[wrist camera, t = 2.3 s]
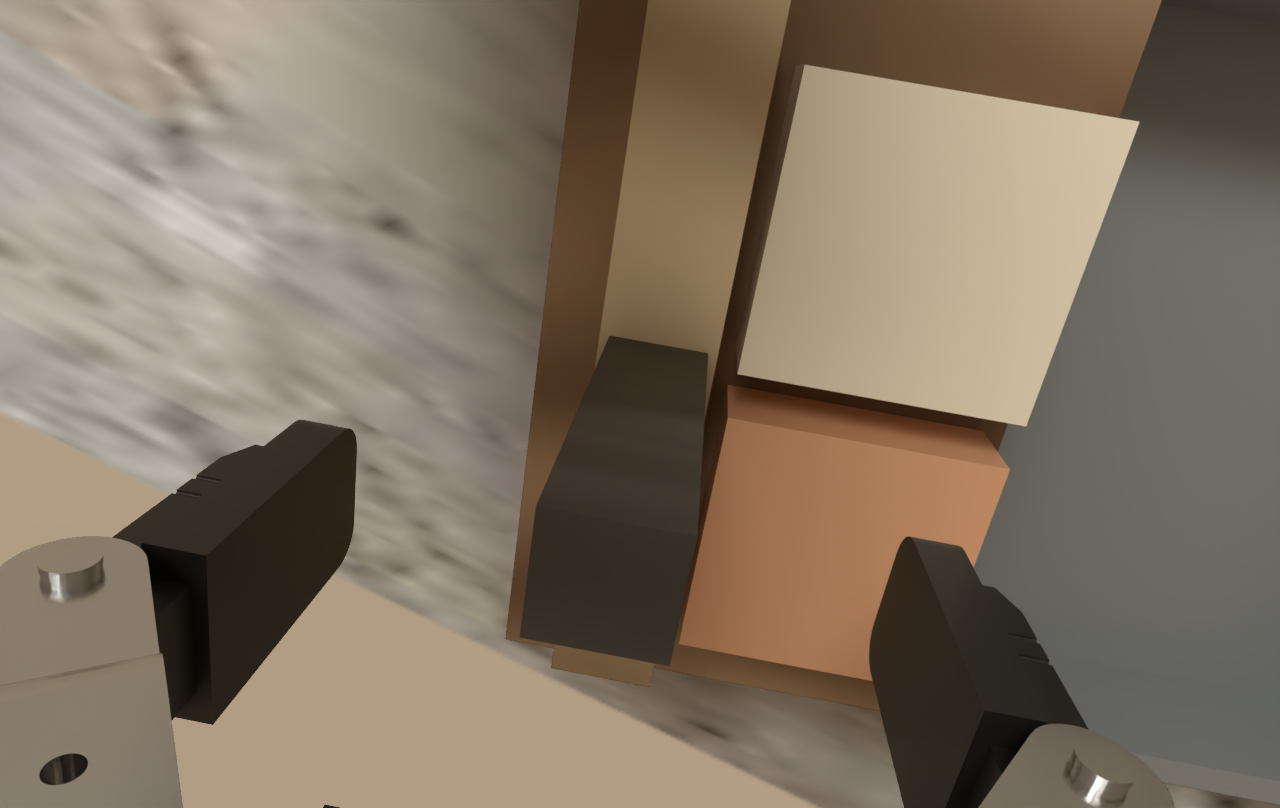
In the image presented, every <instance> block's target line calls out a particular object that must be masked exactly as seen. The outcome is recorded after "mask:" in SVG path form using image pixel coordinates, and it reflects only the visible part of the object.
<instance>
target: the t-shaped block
mask: <svg viewBox="0 0 1280 808" xmlns="http://www.w3.org/2000/svg"><path fill="white" fill-rule="evenodd" d="M790 3H791V0H648V5H647V12H646V19H645V26H644V33H643V40H642V47H641V53H640V60H639V67H638V74H637V81H636V88H635V95H634V102H633V109H632V115H631V122H630V129H629V136H628V143H627V150H626V157H625V164H624V170H623V177H622V184H621V191H620V198H619V205H618V212H617V219H616V226H615V232H614V239H613V246H612V253H611V260H610V267H609V274H608V281H607V287H606V294H605V301H604V308H603V315H602V322H601V329H600V336H599V343H598V349H597V356H596V363H595V370H594V373H593V375H592V377H591V380H590V382H589V384H588V387H587V389H586V391H585V394H584V396H583V398H582V400H581V403H580V405H579V407H578V410H577V412H576V414H575V417H574V419H573V421H572V424H571V426H570V428H569V431H568V433H567V435H566V437H565V440H564V442H563V444H562V447H561V449H560V451H559V454H558V456H557V458H556V461H555V463H554V465H553V468H552V470H551V472H550V475H549V477H548V479H547V481H546V484H545V486H544V488H543V491H542V493H541V495H540V498H539V500H538V502H537V505H536V509H535V517H534V525H533V533H532V541H531V549H530V557H529V565H528V574H527V582H526V590H525V598H524V606H523V614H522V622H521V630H520V638H524V639H529V640H534V641H540V642H545V643H550V644H555V645H554V652H553V659H552V666H551V668H553V669H559V670H564V671H569V672H574V673H579V674H585V675H590V676H595V677H600V678H605V679H611V680H616V681H621V682H626V683H631V684H637V685H642V686H647V687H650V683H651V678H652V674H653V669H654V664H660V665H665V666H670V663H671V658H672V654H673V649H674V644H675V640H676V635H677V630H678V626H679V621H680V616H681V612H682V607H683V602H684V598H685V593H686V589H687V584H688V579H689V575H690V570H691V565H692V561H693V556H694V551H695V547H696V542H697V537H698V523H699V505H700V488H701V470H702V453H703V435H704V421H705V416H706V411H707V406H708V401H709V397H710V392H711V387H712V382H713V377H714V372H715V367H716V363H717V358H718V353H719V348H720V343H721V338H722V333H723V329H724V324H725V319H726V314H727V309H728V304H729V299H730V295H731V290H732V285H733V280H734V275H735V270H736V265H737V261H738V256H739V251H740V246H741V241H742V236H743V231H744V227H745V222H746V217H747V212H748V207H749V202H750V197H751V193H752V188H753V183H754V178H755V173H756V168H757V163H758V159H759V154H760V149H761V144H762V139H763V134H764V129H765V125H766V120H767V115H768V110H769V105H770V100H771V95H772V91H773V86H774V81H775V76H776V71H777V66H778V61H779V57H780V52H781V47H782V42H783V37H784V32H785V27H786V23H787V18H788V13H789V8H790Z"/></svg>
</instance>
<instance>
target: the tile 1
mask: <svg viewBox="0 0 1280 808" xmlns="http://www.w3.org/2000/svg"><path fill="white" fill-rule="evenodd" d="M1009 471H1010V469H1009V467H1008V466H1007V464H1006V463H1005V462H1004V460H1003V459H1002V457H1001V456H1000V455H999V453H998V452H997V450H996V449H995V448H994V446H993V445H992V443H991V442H990V441H989V439H988V438H987V436H986V435H985V434H984V432H983V431H980V430H975V429H969V428H964V427H958V426H953V425H947V424H942V423H936V422H931V421H925V420H920V419H914V418H909V417H903V416H898V415H892V414H887V413H881V412H876V411H870V410H865V409H859V408H854V407H848V406H843V405H837V404H832V403H826V402H821V401H815V400H810V399H804V398H799V397H793V396H788V395H782V394H777V393H771V392H766V391H760V390H755V389H749V388H744V387H738V386H733V385H727V390H726V394H725V399H724V404H723V408H722V413H721V418H720V422H719V427H718V432H717V436H716V441H715V446H714V450H713V455H712V460H711V464H710V469H709V474H708V478H707V483H706V488H705V492H704V497H703V502H702V507H701V511H700V516H699V523H698V537H697V542H696V547H695V551H694V556H693V561H692V565H691V570H690V575H689V579H688V584H687V589H686V593H685V598H684V602H683V607H682V612H681V621H680V634H679V644H681V645H686V646H691V647H697V648H702V649H707V650H712V651H717V652H723V653H728V654H733V655H738V656H744V657H749V658H754V659H759V660H765V661H770V662H775V663H780V664H786V665H791V666H796V667H801V668H807V669H812V670H817V671H822V672H828V673H833V674H838V675H843V676H848V677H854V678H859V679H864V680H869V681H873V680H872V676H871V672H870V666H869V646H870V638H871V633H872V628H873V625H874V621H875V618H876V615H877V612H878V609H879V606H880V603H881V600H882V597H883V594H884V591H885V588H886V584H887V581H888V578H889V575H890V572H891V569H892V566H893V563H894V560H895V557H896V554H897V551H898V548H899V546H900V544H901V542H902V541H903V540H904V538H906V537H908V536H910V537H915V538H921V539H926V540H931V541H936V542H942V543H947V544H952V545H957V546H961V547H962V548H963V549H964V551H965V552H966V554H967V556H968V558H969V560H970V562H971V564H972V566H973V568H974V565H975V562H976V560H977V557H978V554H979V552H980V549H981V546H982V544H983V541H984V538H985V536H986V533H987V530H988V527H989V525H990V522H991V519H992V517H993V514H994V511H995V509H996V506H997V503H998V501H999V498H1000V495H1001V493H1002V490H1003V487H1004V485H1005V482H1006V479H1007V477H1008V474H1009Z"/></svg>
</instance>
